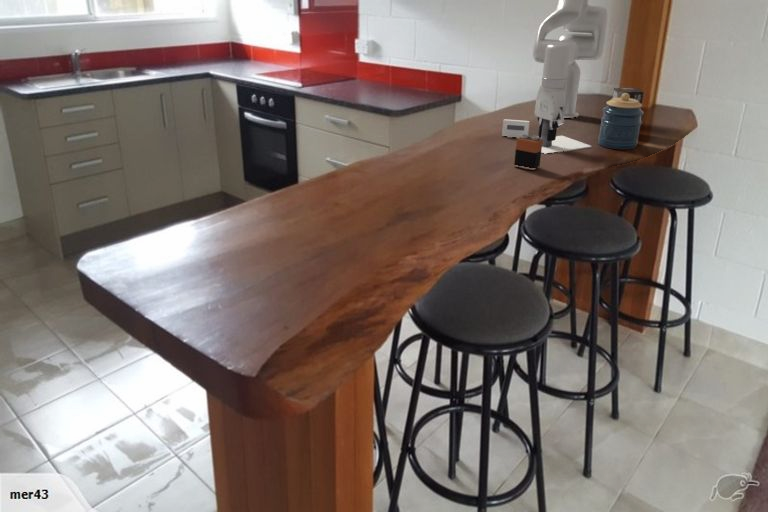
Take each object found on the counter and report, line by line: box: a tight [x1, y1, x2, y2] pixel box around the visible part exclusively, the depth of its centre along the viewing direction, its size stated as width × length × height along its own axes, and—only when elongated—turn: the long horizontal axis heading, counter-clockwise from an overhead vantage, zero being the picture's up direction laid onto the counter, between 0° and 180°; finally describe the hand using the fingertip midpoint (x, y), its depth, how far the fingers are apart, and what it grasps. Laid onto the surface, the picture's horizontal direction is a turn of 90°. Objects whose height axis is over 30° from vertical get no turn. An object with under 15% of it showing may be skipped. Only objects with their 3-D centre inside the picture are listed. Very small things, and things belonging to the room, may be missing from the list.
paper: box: [541, 135, 593, 155], centre depth 210 cm, size 15×20×1 cm
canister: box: [597, 93, 645, 151], centre depth 207 cm, size 13×13×18 cm
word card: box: [501, 118, 530, 139], centre depth 218 cm, size 1×9×6 cm, turn 74°
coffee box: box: [611, 87, 644, 110], centre depth 220 cm, size 9×6×16 cm
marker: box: [540, 119, 555, 147], centre depth 205 cm, size 4×4×11 cm
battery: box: [513, 135, 543, 168], centre depth 185 cm, size 4×7×10 cm, turn 55°
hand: (546, 138), depth 207 cm, fingers closed on marker, 3 cm apart
